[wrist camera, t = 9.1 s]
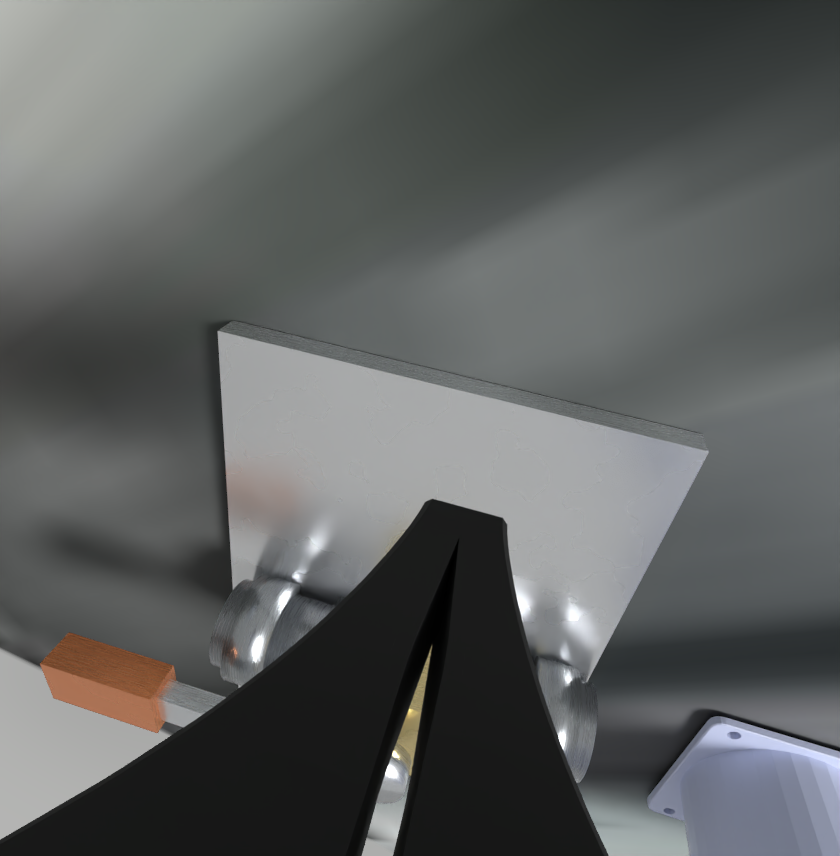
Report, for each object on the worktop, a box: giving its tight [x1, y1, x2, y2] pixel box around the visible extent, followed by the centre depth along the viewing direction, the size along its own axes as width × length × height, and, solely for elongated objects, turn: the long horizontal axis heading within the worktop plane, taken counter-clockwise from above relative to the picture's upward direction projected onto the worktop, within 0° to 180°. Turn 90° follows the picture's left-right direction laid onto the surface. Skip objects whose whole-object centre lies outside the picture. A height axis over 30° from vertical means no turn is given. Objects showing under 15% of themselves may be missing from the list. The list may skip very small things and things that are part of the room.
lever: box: [40, 632, 412, 803], centre depth 20 cm, size 14×3×1 cm, turn 82°
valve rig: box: [209, 321, 709, 783], centre depth 22 cm, size 16×22×6 cm
